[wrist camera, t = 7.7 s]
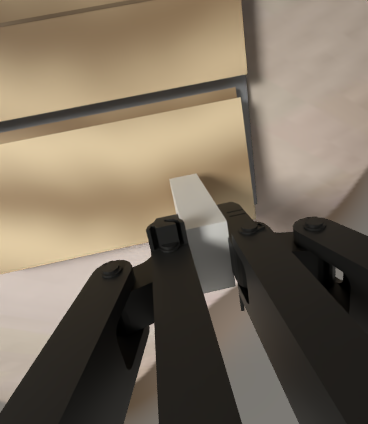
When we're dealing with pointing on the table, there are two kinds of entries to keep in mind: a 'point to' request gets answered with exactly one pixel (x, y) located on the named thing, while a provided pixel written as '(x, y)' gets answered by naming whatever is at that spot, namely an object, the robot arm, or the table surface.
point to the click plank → (115, 175)
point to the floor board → (112, 50)
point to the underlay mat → (143, 100)
